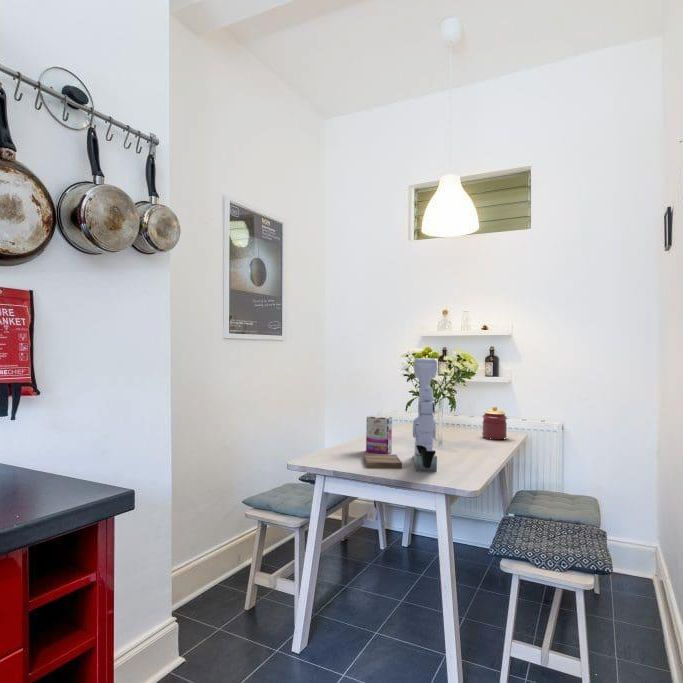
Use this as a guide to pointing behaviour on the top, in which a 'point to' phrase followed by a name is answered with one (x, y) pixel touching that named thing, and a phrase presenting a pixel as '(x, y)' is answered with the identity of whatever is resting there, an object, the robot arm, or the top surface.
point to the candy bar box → (379, 434)
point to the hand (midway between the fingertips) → (425, 465)
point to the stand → (382, 461)
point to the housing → (420, 463)
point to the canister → (494, 424)
